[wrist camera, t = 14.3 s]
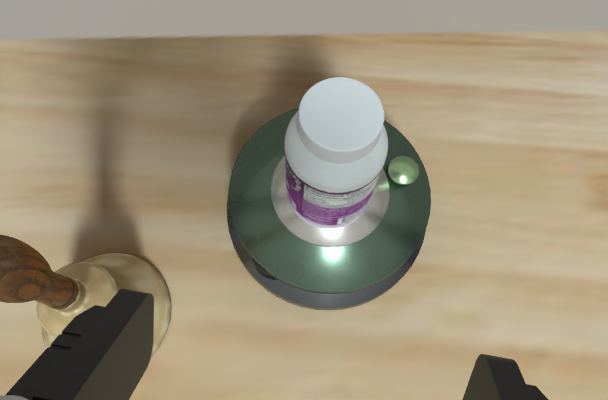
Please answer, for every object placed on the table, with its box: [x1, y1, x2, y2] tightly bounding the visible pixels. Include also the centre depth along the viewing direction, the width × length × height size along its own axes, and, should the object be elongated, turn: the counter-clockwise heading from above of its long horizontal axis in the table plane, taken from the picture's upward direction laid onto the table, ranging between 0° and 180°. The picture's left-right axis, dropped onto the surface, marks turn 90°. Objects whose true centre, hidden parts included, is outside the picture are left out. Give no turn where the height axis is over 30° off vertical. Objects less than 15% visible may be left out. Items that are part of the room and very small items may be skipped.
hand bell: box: [0, 235, 171, 356], centre depth 25 cm, size 8×8×16 cm
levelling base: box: [227, 108, 431, 310], centre depth 33 cm, size 14×14×4 cm
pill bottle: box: [284, 77, 388, 229], centre depth 27 cm, size 5×5×10 cm
